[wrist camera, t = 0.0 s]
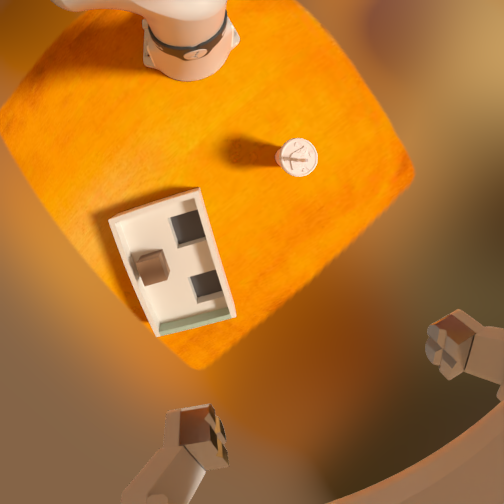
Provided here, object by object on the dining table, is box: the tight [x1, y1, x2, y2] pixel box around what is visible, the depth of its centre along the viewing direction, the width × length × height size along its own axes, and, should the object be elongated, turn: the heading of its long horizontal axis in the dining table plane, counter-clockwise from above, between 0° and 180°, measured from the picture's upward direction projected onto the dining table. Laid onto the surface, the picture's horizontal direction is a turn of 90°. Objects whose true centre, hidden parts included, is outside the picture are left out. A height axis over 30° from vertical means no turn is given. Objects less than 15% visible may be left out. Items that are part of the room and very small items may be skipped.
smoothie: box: [275, 138, 318, 176], centre depth 46 cm, size 6×6×14 cm
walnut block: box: [136, 249, 170, 286], centre depth 51 cm, size 4×4×4 cm
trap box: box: [108, 187, 237, 337], centre depth 53 cm, size 25×17×6 cm
